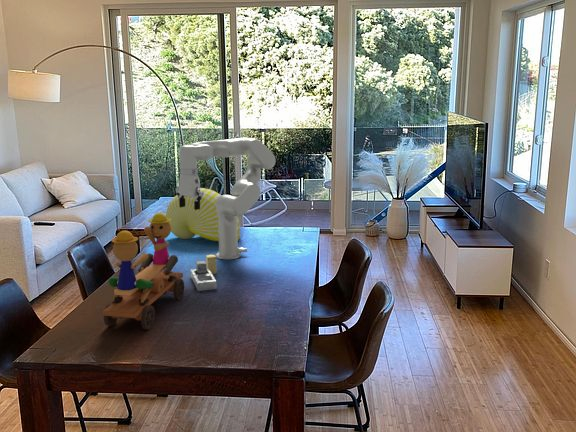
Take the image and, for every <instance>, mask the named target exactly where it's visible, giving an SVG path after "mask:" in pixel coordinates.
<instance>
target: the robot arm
mask: <svg viewBox="0 0 576 432" xmlns="http://www.w3.org/2000/svg"><path fill="white" fill-rule="evenodd" d="M244 155H245V156H246V155H247V158H246V161H247V162H246V163H247V167H246V170H245V173H244V174H243V175H242V176H241V177H240V178H239V179H238V180H237V181H236V182H235V183H234V185H233V186H232V188H231V193H230V194H231V195H230V194H222V195H221V194H220V195H221V196H220V197H218V199H217V201H216V211H217V215H218V236H219V242H218V252H217V253H216V254H215V256H216V259H218V260H219V259H220V260H231V261H232V260H236V259H239V258H241V257H242V254H241V253H247V252H248V248H247V247H245V248H244V247H239V246H238V244H239V242H238V241H239V240H238V236H237V218H236V217H238V218H239V217H242V216H244V215H245V214H247V212H248V211H250V209H251V208H252V207H253V206H254V205H255V204H256V203H257V202H258V200H259V199H260V197H261V188H260V186H259V185H258V184H259V183H260V182H261V179H262V169H263V170H270V169H272V168H274V167H275V165H276V163H277V162H276V156H275V155H274V153H273V152H272V151H271V150H270V149H269V148H268V147H267V146H266V145H265V144H264V143H263V142H262V141H261V140H259V139H257V138H255V137H254V138H252V137H237V138H230V139H220V140H210V141H209V140H208V141H207V140H206V141H200V142H199V141H198V142H193V143H191V144H186V145H185V144H184V145H181V146H180V148H179V160H180V161H179V162H180V163H179V164H180V165H179V166H180V167H179V168H180V174H179V181H178V183H179V184H178V187H177V188H175V193H176V195H177V196H178V198H179V205H180V207H185V198H184V197H185V196H189V197H193V198H194V200H195V201H194V209H195V210H198V209H200V201H201V199H202V196H203V194H204V192H202V191H201V190H200V188H201V184H200V183H201V182H200V177H199V175H198V172H199V171H198V165H197V164H198V163H197V161H209V160H211V159H212V158H213V157H217V158H231V157H236V156H237V157H239V156H244ZM196 197H197V198H196Z"/></svg>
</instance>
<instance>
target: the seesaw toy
mask: <svg viewBox="0 0 576 432" xmlns="http://www.w3.org/2000/svg"><path fill="white" fill-rule="evenodd" d="M170 221H171V219H169V218H167V217H166V213H163V212H156V213H155V214H153V216H152V218H150V219H148V221H147V222H148V223H150V225H149V226H148V225H147V226H145V227H144V228H143V232H144V233H145V234H146V236H147V237H148V239H149V240H150V242H151V244H153V250H154V252H153V253H146V252H143V253H142V254H141V255H140V256H139V257H138V258H136V260H135V261H134V262H133V263H132V260H133V259H134V258H135V257H136V256H137V255H138V250H139V246H138V244H137V241H138V240H139V237H137V236H133V233H131V232H130V231H128V230H121V231H119V232H118V233H117V234H116V237H114V238H111V240H110V241H111V243H114V244H113V245H112V246H113V247H112V253H113V255H114V257H115V259H117V260H119V261H120V262H121V263H118V262H117V263H116V267H118V268H119V274H118V277H117V276H112V277H110V278H109V279H108V285H109V286H110V287H112V288H115V289H114V290H113V291H114V296H113V298H112V300H113V301H112V302H109V303H107V304H106V306H105V308H104V309H103V310H102V316H103V321H104V324H105V325H106V327H113V326H115V325H116V323H117V321H118V319H120V320H122V319H123V318H129V319H134V320H135V321H140V325H141V327H142V329H143V330H151V328H152V327H153V326H154V323H155V318H156V317H155V316H156V312H155V307H154V306H153V305H152V304H153V303H154V302H156V301H157V300H158V299H159V298H160V297H161V296H162V295H166V294H167V292H168V293H173V295H172V296H173V298H174V300H176V301H180V300H182V299H183V296H184V293H185V281H184V280H183V279H182V278H183V277H184V272H177V271H176V272H175V271H172V270H173V268H174V267H175V266H176V264H177V263H178V262H179V258H178V256H177V255H175V254H173V255H170V254H169V250H168V246H169V245H170V242H168V241H167V242H166V239H167V238H168V237H169V236H170V234H171V233H172V232H171V226H170V224H169V222H170ZM138 266H140V267H139V268H138V270H137V271H138V273H137V274H135V268H137V267H138Z"/></svg>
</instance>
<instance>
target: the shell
mask: <svg viewBox="0 0 576 432" xmlns="http://www.w3.org/2000/svg"><path fill="white" fill-rule="evenodd" d="M200 190H201V191H202V192H204V194H203V196H202V199H201V201H200V209H198V210H195V209H194V201H195V200H194V198H193V197H189V196H185V197H184V198H185V207H180V205H179V198H178V196H177V194H176V195H175V196H173V198H172V199H170V200H171V201H170V202H169V203H168V205H167V208H166V210H165V211H166V212H165V215H166V217H167V218H169V219H171V221H170V222H169V224H170V226H171V232H170V233H172V235H174V236H175V237H177V238H179V239H183V240H189V239H192V238H194V237H195V236H199V237H201V238H203V239H206V240H210V241H214V242H217V243H219V236H218V215H217V211H216V201H217V199H218V197H220V196H221V194H220V193H218V192H217V191H215V190H213V189H209V188H205V187H200ZM196 198H197V197H196ZM236 218H237V236H238V241H239V240H240V239H241V226H240V220H239V217H236Z"/></svg>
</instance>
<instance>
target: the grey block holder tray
mask: <svg viewBox="0 0 576 432" xmlns="http://www.w3.org/2000/svg"><path fill="white" fill-rule="evenodd" d="M190 278H191V280H192V282H193V284H194V287H195V288H196V291H198V292H201V291H209V290H217V287H218V286H217V280H216V278H215V276H214V274H212V273H211V272H210V270H209V268H207V274H199V275H196V268H195V269H190Z"/></svg>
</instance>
